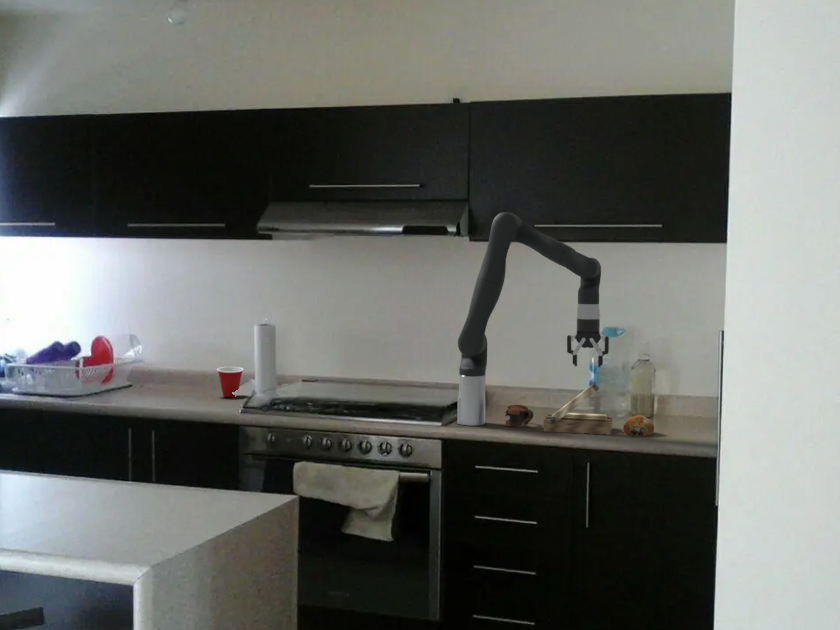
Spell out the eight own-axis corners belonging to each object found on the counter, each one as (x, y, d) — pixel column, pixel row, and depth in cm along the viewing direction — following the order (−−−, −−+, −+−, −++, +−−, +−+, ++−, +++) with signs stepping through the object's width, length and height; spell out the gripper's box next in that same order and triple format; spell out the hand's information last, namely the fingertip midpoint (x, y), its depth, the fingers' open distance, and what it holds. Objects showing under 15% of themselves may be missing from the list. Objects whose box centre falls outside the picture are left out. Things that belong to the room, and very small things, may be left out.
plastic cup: (220, 399, 371) (220, 370, 371) (214, 395, 381) (214, 367, 380) (246, 398, 376) (246, 369, 375) (240, 394, 386) (240, 366, 385)
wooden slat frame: (543, 431, 308) (543, 416, 308) (547, 424, 320) (547, 410, 319) (610, 434, 303) (610, 420, 302) (611, 428, 314) (612, 414, 314)
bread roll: (656, 445, 304) (662, 422, 306) (641, 436, 297) (647, 413, 299) (631, 441, 311) (637, 418, 313) (615, 431, 304) (621, 409, 306)
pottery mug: (497, 427, 318) (500, 405, 322) (514, 436, 324) (516, 414, 327) (525, 422, 310) (527, 400, 314) (541, 431, 316) (543, 409, 319)
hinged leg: (552, 424, 309) (548, 419, 309) (553, 423, 312) (549, 417, 312) (598, 389, 304) (594, 383, 304) (599, 388, 307) (594, 382, 308)
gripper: (565, 317, 303) (565, 367, 305) (609, 318, 300) (608, 368, 301) (567, 316, 311) (567, 364, 312) (610, 317, 307) (610, 365, 308)
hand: (587, 366), depth 306 cm, fingers open, 7 cm apart
